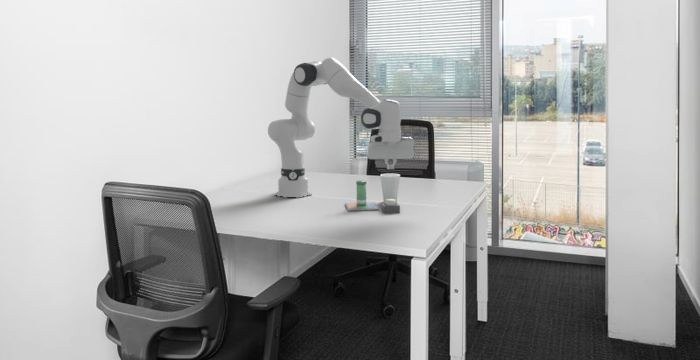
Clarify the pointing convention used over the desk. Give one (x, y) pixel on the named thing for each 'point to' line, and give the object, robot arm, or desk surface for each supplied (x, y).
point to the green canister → (361, 193)
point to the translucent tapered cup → (390, 186)
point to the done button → (390, 202)
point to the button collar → (390, 208)
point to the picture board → (361, 207)
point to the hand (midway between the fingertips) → (390, 169)
